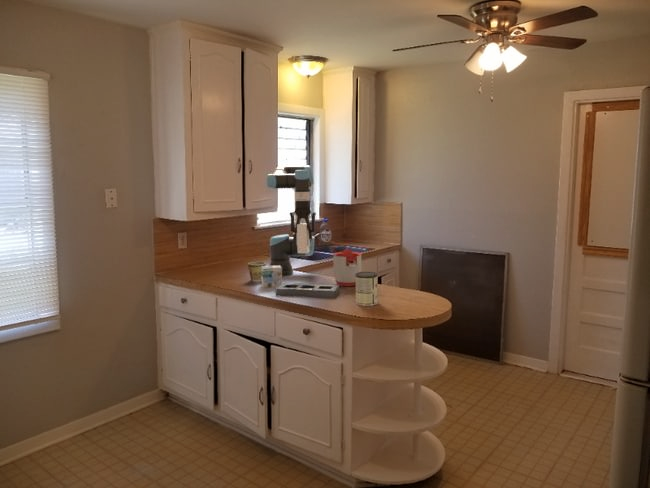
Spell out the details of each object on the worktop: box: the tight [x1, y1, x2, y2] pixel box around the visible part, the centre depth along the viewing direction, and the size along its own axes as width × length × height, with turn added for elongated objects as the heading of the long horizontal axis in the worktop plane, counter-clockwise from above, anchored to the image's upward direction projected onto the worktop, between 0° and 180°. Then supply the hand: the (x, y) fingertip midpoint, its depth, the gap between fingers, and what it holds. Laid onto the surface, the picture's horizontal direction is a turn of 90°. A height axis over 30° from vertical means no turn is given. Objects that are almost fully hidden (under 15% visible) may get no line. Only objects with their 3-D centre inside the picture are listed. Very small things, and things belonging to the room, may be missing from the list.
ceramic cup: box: [247, 261, 266, 283], centre depth 313 cm, size 13×10×10 cm
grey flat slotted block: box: [275, 282, 341, 299], centre depth 278 cm, size 13×30×4 cm, turn 77°
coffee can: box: [355, 271, 379, 307], centre depth 256 cm, size 10×10×14 cm
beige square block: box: [297, 223, 310, 253], centre depth 283 cm, size 5×5×15 cm
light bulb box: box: [260, 265, 283, 289], centre depth 296 cm, size 11×7×11 cm, turn 105°
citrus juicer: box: [332, 248, 362, 287], centre depth 296 cm, size 16×17×20 cm
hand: (303, 245), depth 283 cm, fingers closed on beige square block, 5 cm apart
